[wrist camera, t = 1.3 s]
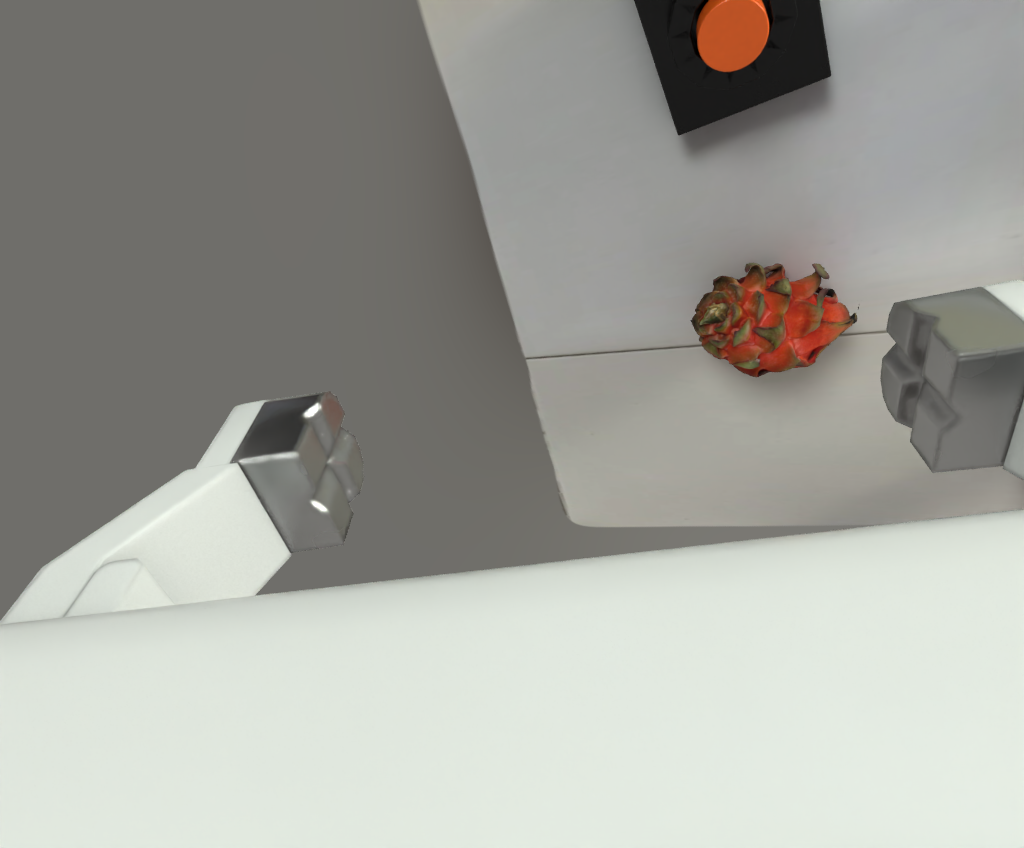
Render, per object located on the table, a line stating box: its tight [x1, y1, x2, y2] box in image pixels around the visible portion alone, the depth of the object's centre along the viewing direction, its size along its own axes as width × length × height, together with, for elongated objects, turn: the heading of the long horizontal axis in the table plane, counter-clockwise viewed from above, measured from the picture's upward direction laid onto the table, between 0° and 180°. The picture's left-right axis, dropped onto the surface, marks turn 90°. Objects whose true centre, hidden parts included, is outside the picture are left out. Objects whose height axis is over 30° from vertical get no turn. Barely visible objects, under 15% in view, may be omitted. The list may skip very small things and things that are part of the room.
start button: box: [696, 0, 769, 72], centre depth 36 cm, size 4×4×2 cm
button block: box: [634, 0, 831, 135], centre depth 37 cm, size 11×9×4 cm
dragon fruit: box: [690, 263, 859, 377], centre depth 51 cm, size 8×8×12 cm
